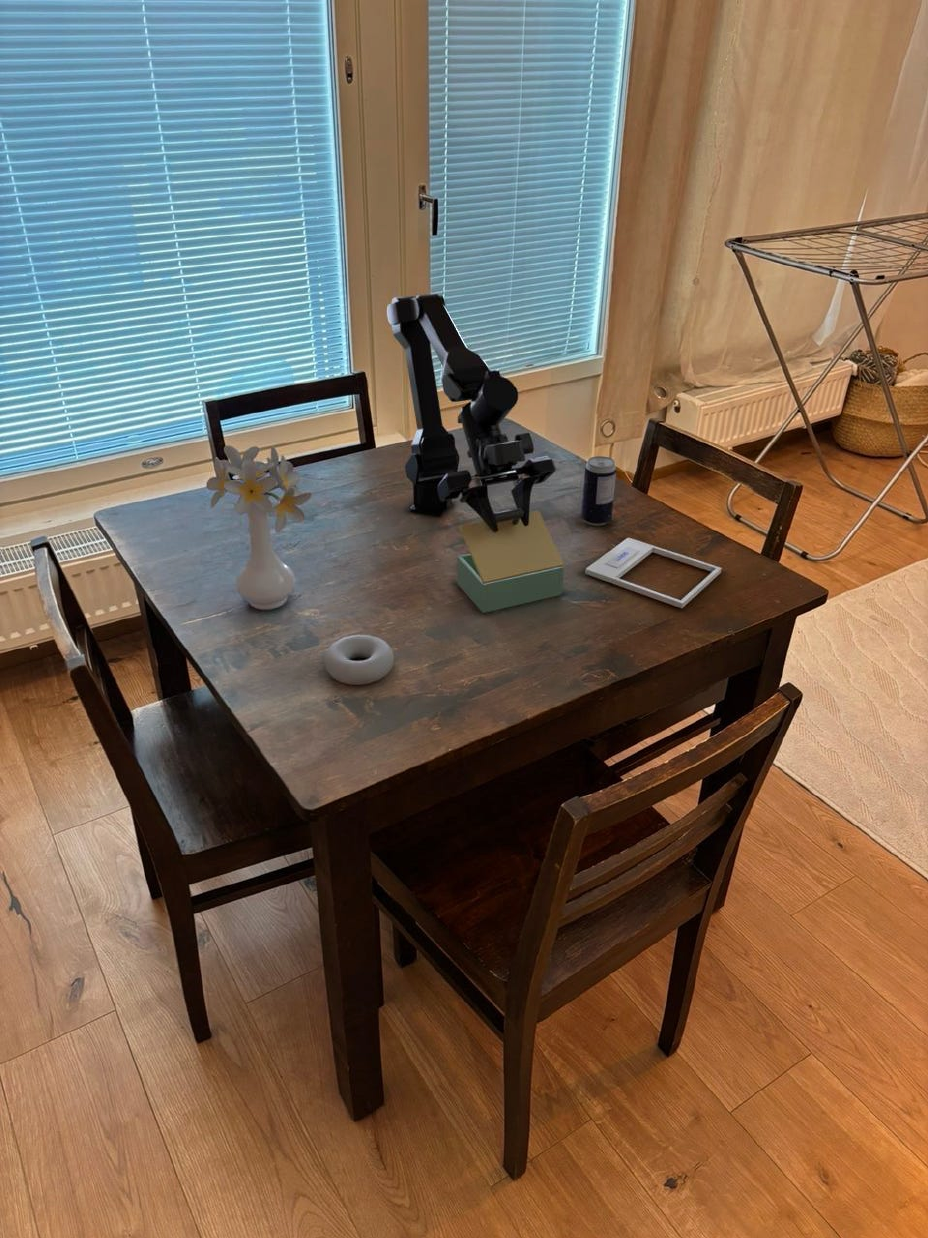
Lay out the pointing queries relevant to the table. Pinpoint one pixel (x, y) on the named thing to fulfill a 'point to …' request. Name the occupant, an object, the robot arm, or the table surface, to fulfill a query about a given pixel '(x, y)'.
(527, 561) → the lunchbox lid
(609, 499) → the beverage can
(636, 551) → the photo frame
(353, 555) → the table surface
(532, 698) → the table surface
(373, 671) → the donut
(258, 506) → the flower vase
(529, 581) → the lunchbox
